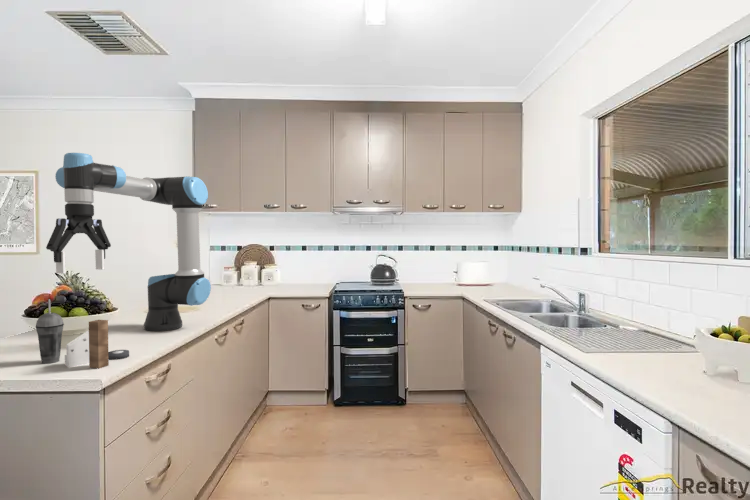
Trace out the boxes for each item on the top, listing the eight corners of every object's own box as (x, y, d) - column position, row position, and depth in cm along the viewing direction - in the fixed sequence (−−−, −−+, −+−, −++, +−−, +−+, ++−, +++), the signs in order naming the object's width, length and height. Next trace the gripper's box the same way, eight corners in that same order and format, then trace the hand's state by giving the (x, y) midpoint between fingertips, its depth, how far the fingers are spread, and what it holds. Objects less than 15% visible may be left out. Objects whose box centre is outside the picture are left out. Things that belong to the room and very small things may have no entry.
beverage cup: (64, 357, 143) (63, 296, 143) (64, 362, 137) (63, 299, 137) (36, 360, 139) (35, 298, 139) (35, 366, 133) (33, 301, 133)
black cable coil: (118, 353, 148) (117, 348, 148) (133, 355, 146) (133, 350, 146) (101, 358, 142) (101, 353, 142) (117, 360, 140) (117, 355, 140)
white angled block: (105, 352, 140) (89, 331, 137) (74, 374, 134) (56, 352, 130) (101, 350, 143) (85, 329, 139) (70, 372, 136) (53, 350, 133)
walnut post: (99, 364, 136) (98, 319, 135) (108, 365, 135) (107, 320, 134) (89, 367, 132) (88, 321, 132) (98, 368, 131) (98, 322, 131)
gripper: (103, 205, 150) (105, 267, 150) (29, 201, 125) (32, 274, 126) (121, 205, 148) (123, 268, 149) (50, 200, 124) (52, 275, 124)
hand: (81, 271), depth 138 cm, fingers open, 13 cm apart
